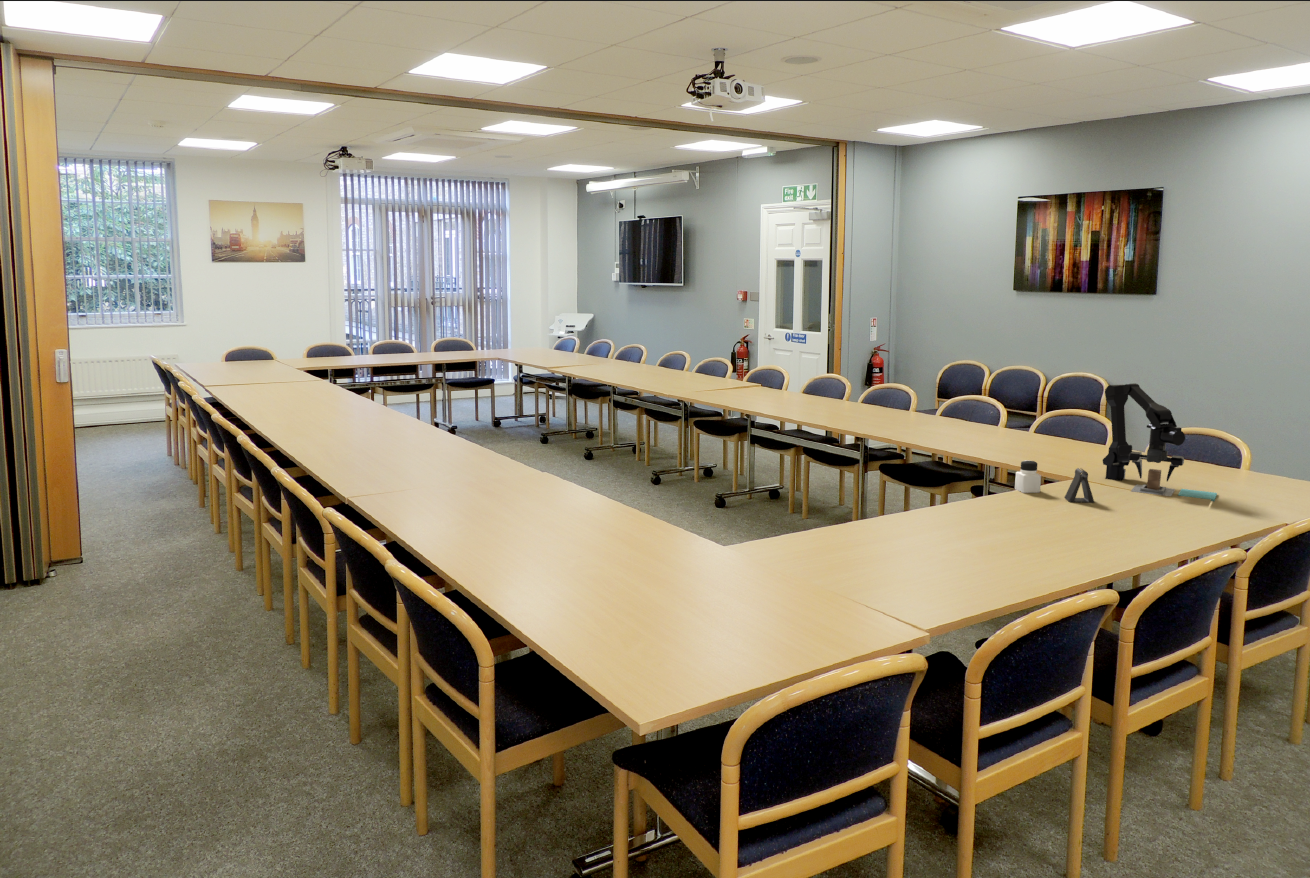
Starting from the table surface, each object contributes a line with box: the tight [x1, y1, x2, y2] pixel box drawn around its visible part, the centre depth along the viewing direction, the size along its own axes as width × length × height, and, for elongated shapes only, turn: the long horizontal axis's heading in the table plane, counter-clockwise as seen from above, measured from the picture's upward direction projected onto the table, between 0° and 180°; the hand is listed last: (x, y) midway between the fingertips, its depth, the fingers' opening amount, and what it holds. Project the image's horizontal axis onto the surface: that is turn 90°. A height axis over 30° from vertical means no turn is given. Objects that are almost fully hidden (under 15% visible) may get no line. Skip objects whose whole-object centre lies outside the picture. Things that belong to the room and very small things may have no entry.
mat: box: [1177, 488, 1218, 502], centre depth 352 cm, size 12×12×1 cm
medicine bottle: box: [1014, 459, 1042, 494], centre depth 360 cm, size 7×7×12 cm
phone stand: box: [1064, 467, 1095, 504], centre depth 345 cm, size 9×6×12 cm, turn 81°
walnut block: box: [1146, 468, 1162, 490], centre depth 358 cm, size 4×4×8 cm
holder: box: [1130, 484, 1176, 497], centre depth 359 cm, size 14×14×2 cm
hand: (1153, 479), depth 358 cm, fingers open, 9 cm apart
